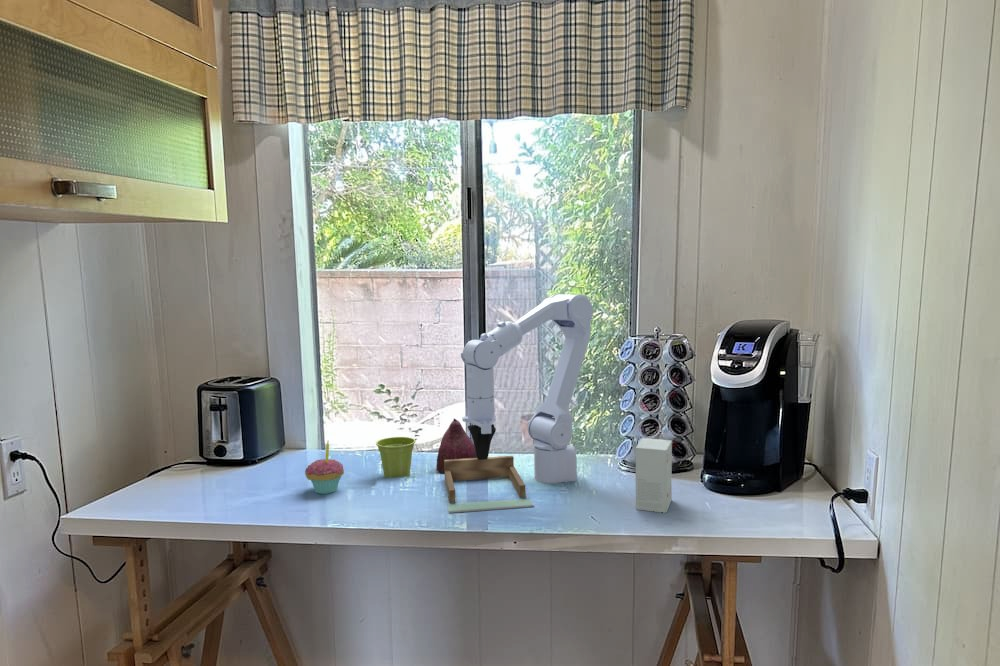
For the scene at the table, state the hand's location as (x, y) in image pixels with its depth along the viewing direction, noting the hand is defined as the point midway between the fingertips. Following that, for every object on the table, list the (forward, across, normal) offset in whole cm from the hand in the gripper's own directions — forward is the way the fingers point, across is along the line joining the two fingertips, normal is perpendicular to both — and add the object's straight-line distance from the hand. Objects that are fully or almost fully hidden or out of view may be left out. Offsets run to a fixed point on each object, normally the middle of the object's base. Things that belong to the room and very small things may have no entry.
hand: (482, 458), depth 133 cm
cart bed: (+9, -3, 0) cm, 9 cm away
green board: (+8, +5, 0) cm, 9 cm away
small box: (+9, +11, +34) cm, 37 cm away
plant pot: (+9, -20, -18) cm, 29 cm away
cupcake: (+9, -13, -34) cm, 38 cm away
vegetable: (+9, -23, -3) cm, 25 cm away
